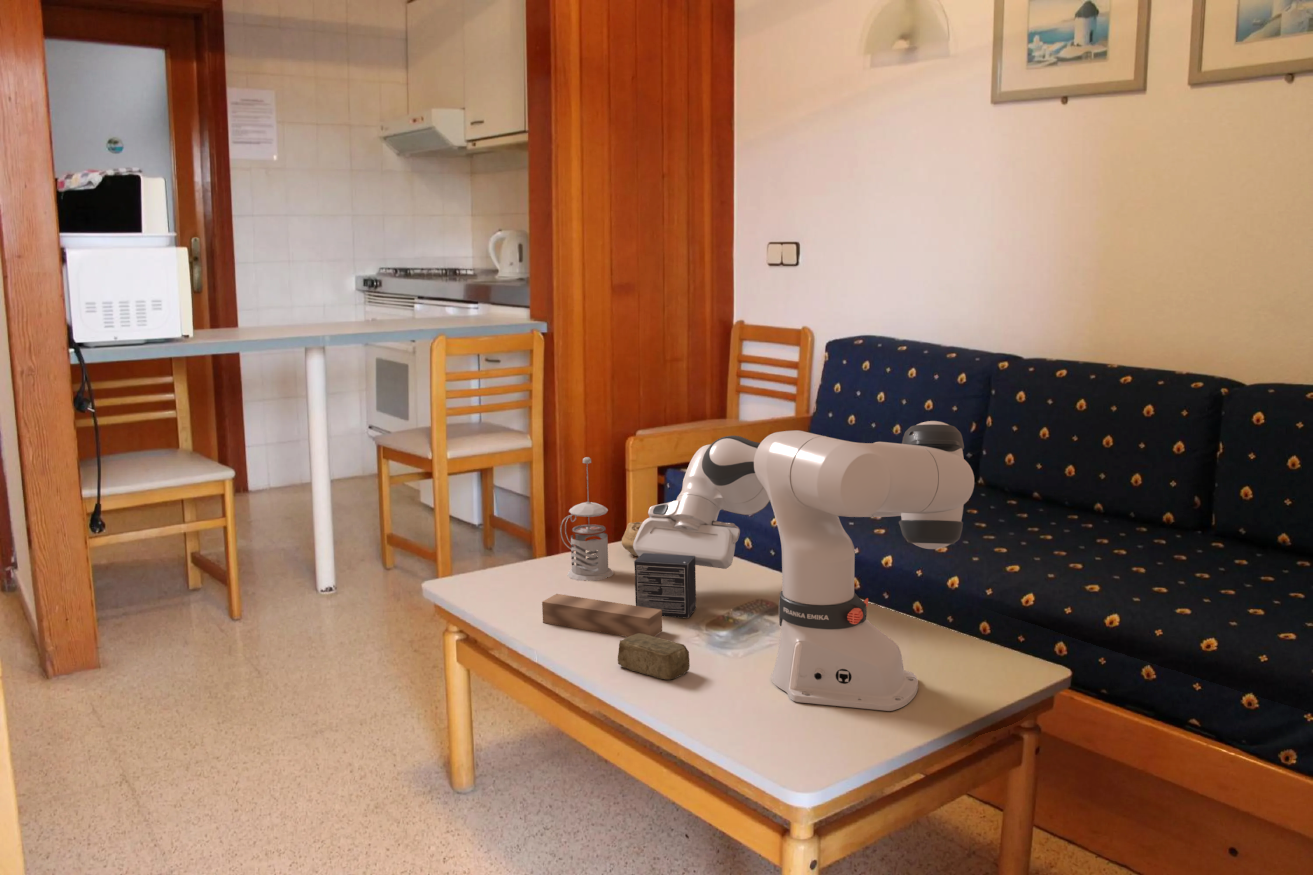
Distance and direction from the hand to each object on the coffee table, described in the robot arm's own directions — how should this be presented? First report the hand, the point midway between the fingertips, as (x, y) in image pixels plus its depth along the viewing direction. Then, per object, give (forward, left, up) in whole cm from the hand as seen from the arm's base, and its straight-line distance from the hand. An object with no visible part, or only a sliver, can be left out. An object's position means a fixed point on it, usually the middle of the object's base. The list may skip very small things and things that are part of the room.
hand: (672, 581), depth 205 cm
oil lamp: (+22, -29, -5) cm, 36 cm away
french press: (+26, -11, -5) cm, 28 cm away
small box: (0, +4, -5) cm, 6 cm away
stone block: (-11, +30, -5) cm, 32 cm away
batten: (+7, +16, -5) cm, 18 cm away
